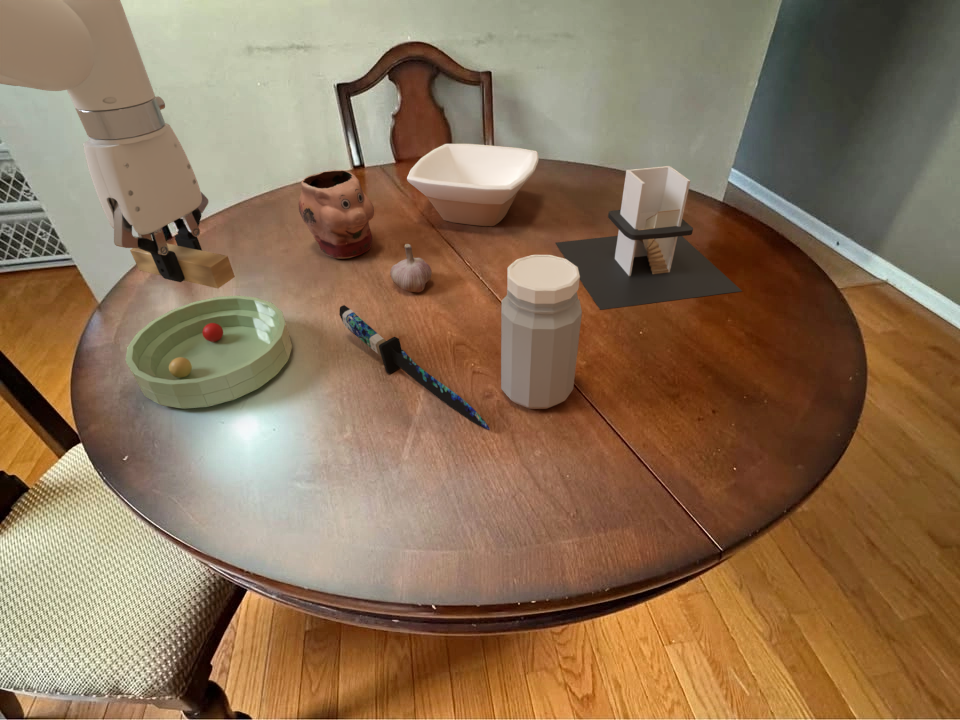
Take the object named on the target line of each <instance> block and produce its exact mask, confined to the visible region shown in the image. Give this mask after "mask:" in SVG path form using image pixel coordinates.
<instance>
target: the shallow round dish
mask: <svg viewBox="0 0 960 720" xmlns="http://www.w3.org/2000/svg"><path fill="white" fill-rule="evenodd" d="M209 323H216V324H218V325H220V326H221V327H222V329H223V336H222V338H221V339H220V340H218V341H216V342H210V341H208V340H206V339H205V338H204V336H203V333H202V331H203V328H204V327H205V326H206V325H207V324H209ZM289 333H290V332H289V330H288V326H287V323H286V319H285V316H284V313H283V311H282V309H280V308H278V306H276V305H275V304H274V303H273V302H270V301H267V300H265V299H262V298H259V297H256V296H246V295H225V296H224V295H223V296H214V297H211V298H210V297H209V298H206V299H201V300H195V301H192V302H190V303H187V304H184V305H181V306H179V307H175V308H172V309H171V310H169V311H167V312H165V313H163V314H161V315H159V316H157V317H156V318H154V319H153V320H151V321H150V322H148V323H147V325H145V326H144V327H143V328H142V329H140V330H139V331H138V332H137V333H135V335H134V337H133V338H132V340H130V342H129V344H128V346H127V347H126V354H125V363H126V365H127V367H128V369H129V371H130V373H131V374H132V376H133V378H134V380H135V382H136V384H137V386H138V387H139V390H140V391H141V392H142V394H143V396H144V397H145V398H147V399H149V400H150V401H152V402H154V403H156V404H158V405H160V406H164V407H171V408H176V409H194V408H195V409H196V408H208V407H213V406H217V405H220V404H223V403H224V404H225V403H228V402H231V401H234V400H236V399H239V398H241V397H243V396H245V395H247V394H250V393H252V392H254V391H257V390H258V389H260V388H261V387H262V386H264V385H265V384H267V383H268V382H269V381H271V380H272V379H273V378H275V377H276V376H277V375H278V374H279V373H280V371H281V370H282V369H283V368H284V366H285V365H286V364H287V363H288V361H289V360H290V355H291V353H292V348H293V344H292V341H291V337H290V334H289ZM178 357H183V358H186V359H188V360H189V361H190V362H191V365H192V370H191V372H190V374H189V375H187V376H186V377H182V378H178V377H175V376H173V375H172V374H171V373H170V371H169V364H170V362H171V361H172V360H173V359H175V358H178Z"/></svg>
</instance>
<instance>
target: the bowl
mask: <svg viewBox="0 0 960 720" xmlns="http://www.w3.org/2000/svg"><path fill="white" fill-rule="evenodd" d="M539 160H540V159H539V153H538V151H536V150H532V149H526V148H520V147H511V146H499V145H487V144H475V143H444V144H442V145H440V146H438V147H436V148H434V149H432V150H430V151H429V152H428V153H426V154H425V155H424V156H422V157H420V158H419V159H418V161H417V162H415V164H414V165H413V167H411V168H410V170H409V172H408V175H407V177H406V180H407V182H408V183H409V184H410V185H411V186H412V187H414V188H415V189H416V190H418V191H419V192H420V193H421V194H423V195H424V196H425V197H426V198H427V199H428V202H429V203H431V205H432V206H433V208H434V209H435V211H436V212H437V213H438V214H439V216H440V217H441V219H442V220H443V221H446V222H450V223H454V224H460V225H461V224H462V225H468V226H469V225H470V226H478V227H479V226H480V227H495V226H496V225H497V224H499V223H500V222H501V221H502V220H503V219H505V217H506V215H507V214H508V212H509V210H510V208H511V206H512V204H513V203H514V201H515V198H516V196H517V195H518V193H519V190H521V188H522V187H523V186H524V185H525V184H526V183H527V182H528V180H529V179H530V178H531V177H532V176H533V175H534V174H535V171H536V169H537V167H538V164H539Z"/></svg>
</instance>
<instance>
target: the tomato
mask: <svg viewBox="0 0 960 720" xmlns="http://www.w3.org/2000/svg"><path fill="white" fill-rule="evenodd" d="M202 333H203V336H204V338H205V339H206V340H208V341H210V342H216V341H218V340H220V339H221V338H222V336H223V329H222V327H221V326H220V325H218V324H216V323H209V324H207V325H206V326H205V327H204V328H203V331H202Z"/></svg>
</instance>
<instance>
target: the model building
mask: <svg viewBox="0 0 960 720" xmlns="http://www.w3.org/2000/svg"><path fill="white" fill-rule="evenodd" d="M624 177H625V178H624V185H623V192H622V198H621V205H620V209H613V210H609V211H608V214H607V219H609V221H610V222H612V224H613V225H614V226H615V227H616V228H617V229H618V233H617V235H611V236H610V235H609V236H601V237H593V238H586V239H585V238H584V239H575V240H567V241H558V242H554V244H555V246H556V247H557V248H558V249H559V251H560V253H561V254H562V255H563V257H564V259H567V260H568V261H570V262H571V263H573V264H574V265H575V266H577V267H578V271H579V275H580V280H579V282H580V283H582V285H583V286H584V289H585V290H586V291H587V292H588V294H589V295H590V297H591V299H592V300H593V301H594V303H595V304H596V306H597V307H598V309H599V310H601V311H602V310H608V309H616V308H625V307H633V306H639V305H647V304H655V303H661V302H662V303H663V302H670V301H678V300H685V299H692V298H693V299H694V298H702V297H709V296H717V295H723V294H724V295H725V294H731V293H732V294H733V293H740V292H743V290H742V289H741V288H740V287H739V286H738V285H736V284H735V282H733V281H732V280H731V279H730V278H729V277H728V276H726V275H725V274H724V272H722V271H721V270H720V269H719V268H717V266H715V264H713V263H712V261H710V260H709V259H708V258H707V257H705V255H704V254H702V253H701V252H700V251H699V250H698V249H697V248H696V247H695V246H693V245H692V243H690V242H689V241H688V240H687V238H685V237H686V236H692V235H693V233H694V232H693V231H694V227H692V226H691V224H689V223H688V222H687V221H686V220H684V218H683V217H684V212H685V208H686V203H687V199H688V194H689V189H690V185H691V180H690V179H689V178H687V177H686V176H685V175H684V174H682V173H681V172H679V171H677V170H676V169H675V168H674V167H673V166H671V165H666V166H654V167H646V168H635V169H634V168H632V169H626V170H625V176H624Z"/></svg>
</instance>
